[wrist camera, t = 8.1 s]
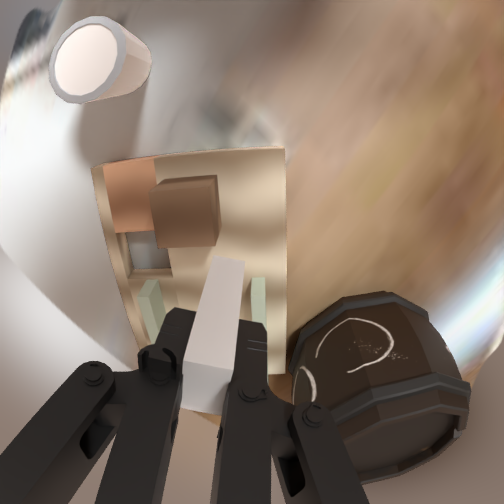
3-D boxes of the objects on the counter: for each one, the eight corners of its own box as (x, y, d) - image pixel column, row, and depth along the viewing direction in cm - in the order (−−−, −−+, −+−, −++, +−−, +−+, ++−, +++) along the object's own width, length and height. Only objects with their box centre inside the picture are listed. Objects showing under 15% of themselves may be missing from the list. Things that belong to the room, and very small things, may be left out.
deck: (100, 163, 26) (90, 168, 24) (283, 146, 25) (284, 149, 23) (152, 359, 37) (148, 370, 35) (284, 361, 36) (285, 373, 34)
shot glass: (168, 83, 23) (137, 77, 16) (102, 114, 24) (59, 120, 18) (147, 20, 20) (114, -2, 14) (84, 53, 21) (40, 46, 15)
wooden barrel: (258, 369, 37) (254, 482, 23) (342, 257, 30) (394, 381, 16) (364, 400, 40) (384, 491, 26) (448, 315, 33) (504, 408, 19)
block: (164, 178, 25) (148, 191, 21) (217, 174, 24) (209, 186, 21) (171, 228, 27) (158, 248, 23) (221, 226, 26) (215, 246, 23)
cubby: (146, 279, 29) (136, 296, 26) (264, 277, 28) (265, 295, 26) (174, 372, 35) (168, 390, 32) (268, 374, 34) (268, 393, 32)
